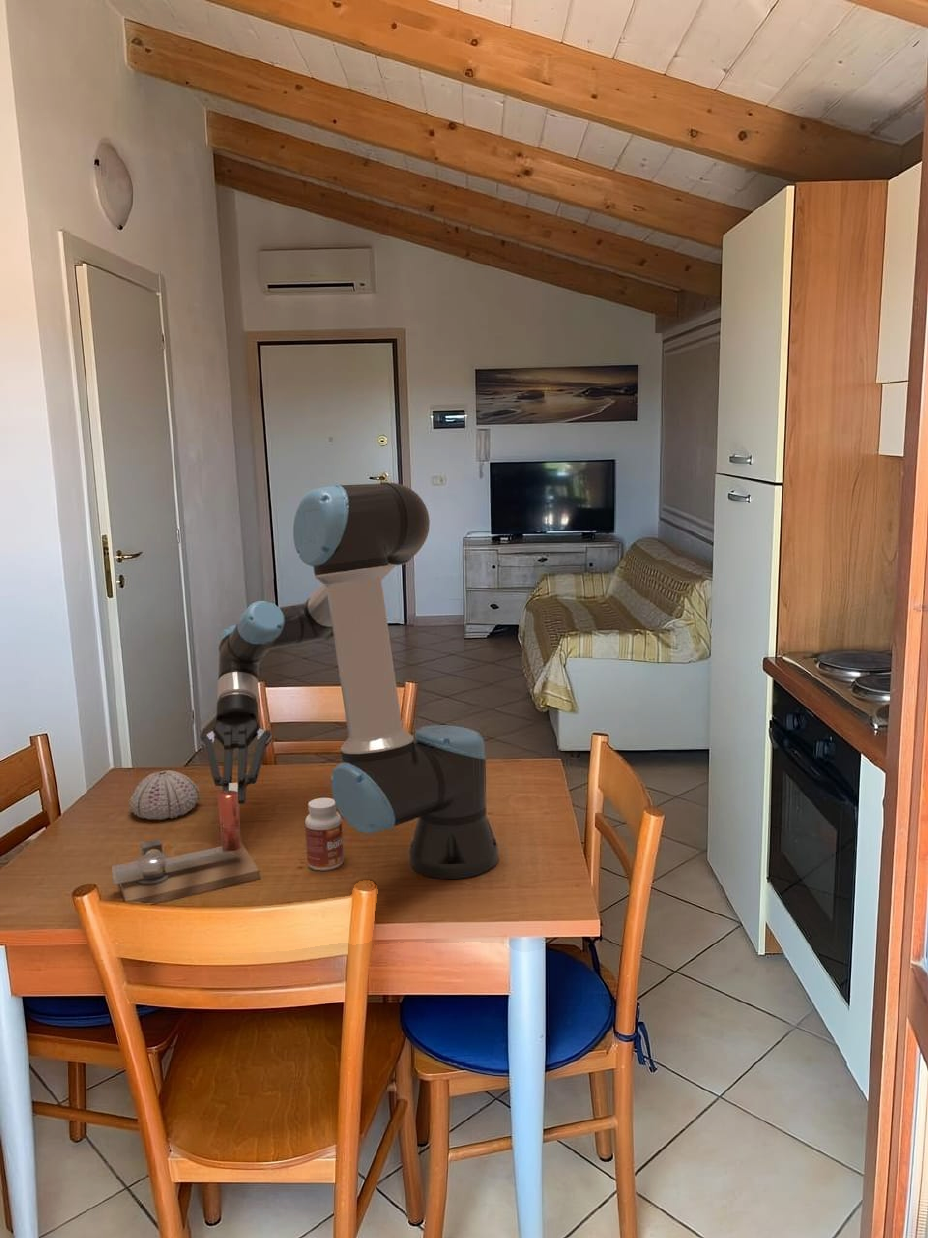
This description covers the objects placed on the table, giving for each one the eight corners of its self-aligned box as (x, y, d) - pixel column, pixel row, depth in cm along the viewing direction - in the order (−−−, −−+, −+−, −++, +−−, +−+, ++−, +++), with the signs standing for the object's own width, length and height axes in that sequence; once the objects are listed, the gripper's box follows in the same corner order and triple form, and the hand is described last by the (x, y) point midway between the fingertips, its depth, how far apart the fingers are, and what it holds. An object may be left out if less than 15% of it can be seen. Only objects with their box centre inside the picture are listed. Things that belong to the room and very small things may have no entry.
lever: (116, 886, 149) (109, 822, 147) (112, 875, 153) (105, 812, 151) (245, 857, 158) (240, 796, 156) (238, 848, 162) (234, 788, 160)
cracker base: (127, 910, 146) (124, 883, 146) (116, 873, 159) (113, 848, 158) (260, 878, 156) (258, 853, 155) (239, 846, 168) (237, 822, 167)
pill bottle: (332, 874, 157) (329, 811, 154) (300, 869, 159) (296, 807, 157) (350, 858, 162) (347, 798, 160) (319, 853, 164) (315, 794, 162)
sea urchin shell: (170, 829, 177) (166, 788, 176) (114, 819, 182) (110, 780, 181) (214, 803, 189) (211, 765, 188) (161, 794, 194) (158, 758, 193)
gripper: (274, 709, 180) (273, 826, 167) (205, 713, 179) (198, 831, 166) (270, 690, 174) (268, 809, 161) (198, 694, 173) (191, 815, 160)
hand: (233, 820), depth 163 cm, fingers closed
